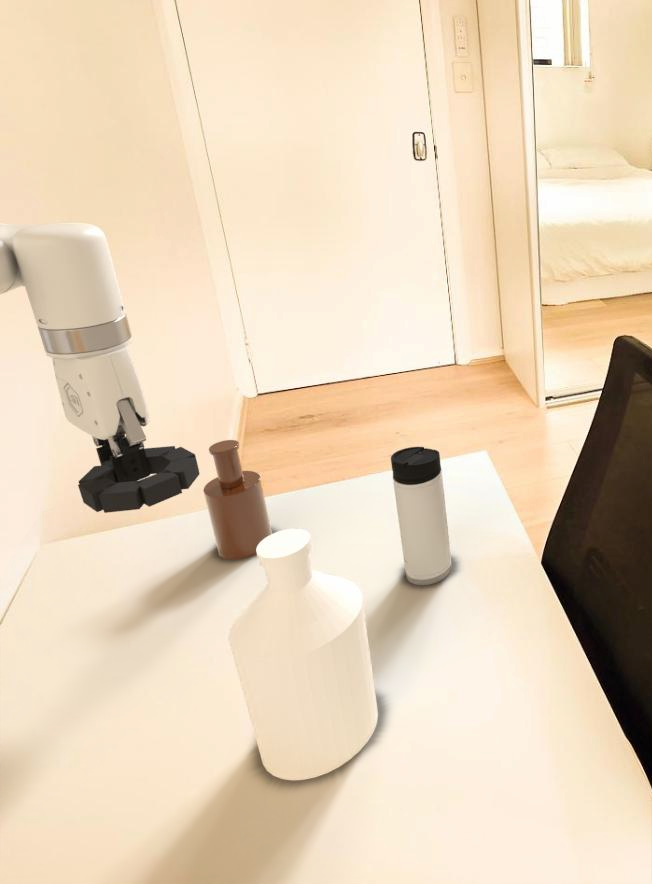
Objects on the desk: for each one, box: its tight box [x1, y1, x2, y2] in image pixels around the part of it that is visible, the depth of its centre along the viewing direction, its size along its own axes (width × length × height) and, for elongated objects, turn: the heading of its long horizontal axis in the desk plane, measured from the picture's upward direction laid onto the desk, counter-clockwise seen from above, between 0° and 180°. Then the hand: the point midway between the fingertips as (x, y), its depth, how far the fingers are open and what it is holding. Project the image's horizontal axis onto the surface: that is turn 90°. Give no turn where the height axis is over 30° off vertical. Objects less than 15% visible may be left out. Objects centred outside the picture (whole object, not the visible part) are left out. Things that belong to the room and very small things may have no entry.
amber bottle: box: [203, 439, 273, 561], centre depth 101 cm, size 7×7×17 cm
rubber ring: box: [77, 445, 200, 514], centre depth 81 cm, size 10×10×2 cm
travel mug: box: [390, 446, 453, 586], centre depth 97 cm, size 6×7×20 cm
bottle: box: [228, 528, 379, 781], centre depth 71 cm, size 12×12×25 cm
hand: (127, 475), depth 83 cm, fingers closed on rubber ring, 2 cm apart
